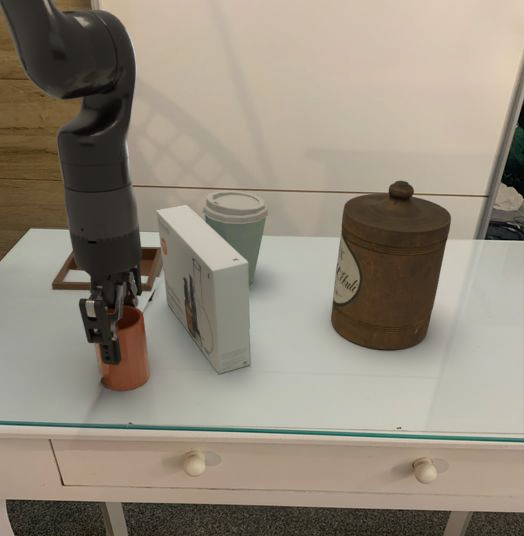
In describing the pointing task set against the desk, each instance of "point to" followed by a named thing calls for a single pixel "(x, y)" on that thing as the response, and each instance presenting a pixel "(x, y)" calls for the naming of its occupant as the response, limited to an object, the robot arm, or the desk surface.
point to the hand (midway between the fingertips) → (121, 346)
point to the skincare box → (206, 287)
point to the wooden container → (388, 267)
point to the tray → (148, 267)
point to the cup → (127, 353)
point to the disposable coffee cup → (238, 222)
